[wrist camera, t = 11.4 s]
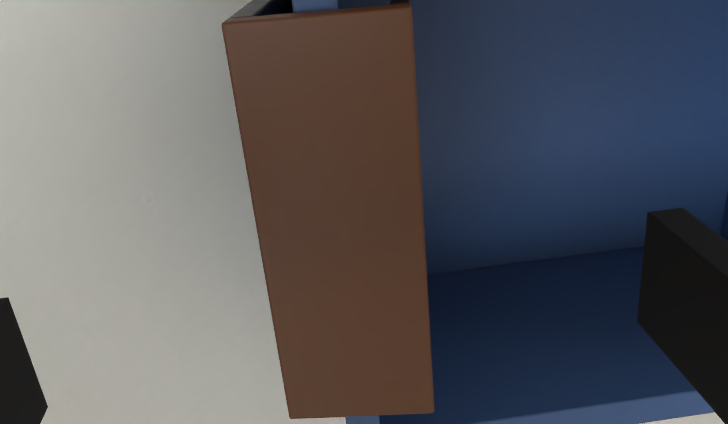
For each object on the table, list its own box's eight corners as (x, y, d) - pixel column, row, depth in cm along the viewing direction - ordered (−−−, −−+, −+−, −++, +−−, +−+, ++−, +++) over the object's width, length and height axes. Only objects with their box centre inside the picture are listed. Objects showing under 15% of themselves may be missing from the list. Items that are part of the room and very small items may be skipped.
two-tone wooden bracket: (314, 294, 25) (289, 420, 19) (271, -16, 20) (220, 22, 15) (425, 288, 25) (434, 414, 19) (407, -28, 20) (411, 6, 14)
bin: (331, 297, 30) (351, 467, 21) (279, -108, 23) (277, -114, 14) (728, 244, 31) (909, 384, 22) (791, -157, 24) (1091, -192, 15)
